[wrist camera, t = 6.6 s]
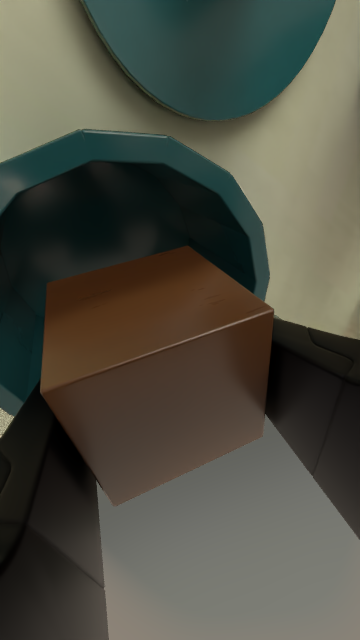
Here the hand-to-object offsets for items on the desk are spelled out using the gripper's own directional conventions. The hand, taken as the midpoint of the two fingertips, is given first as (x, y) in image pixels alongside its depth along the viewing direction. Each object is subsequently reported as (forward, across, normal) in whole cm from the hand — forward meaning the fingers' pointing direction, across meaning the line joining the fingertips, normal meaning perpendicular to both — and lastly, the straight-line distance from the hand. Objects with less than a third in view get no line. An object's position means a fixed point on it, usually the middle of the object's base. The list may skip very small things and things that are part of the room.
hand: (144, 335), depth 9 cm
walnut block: (+1, 0, 0) cm, 1 cm away
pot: (+8, 0, 0) cm, 8 cm away
